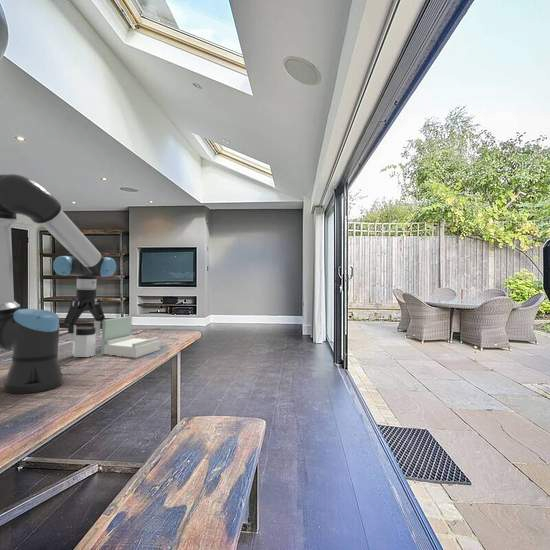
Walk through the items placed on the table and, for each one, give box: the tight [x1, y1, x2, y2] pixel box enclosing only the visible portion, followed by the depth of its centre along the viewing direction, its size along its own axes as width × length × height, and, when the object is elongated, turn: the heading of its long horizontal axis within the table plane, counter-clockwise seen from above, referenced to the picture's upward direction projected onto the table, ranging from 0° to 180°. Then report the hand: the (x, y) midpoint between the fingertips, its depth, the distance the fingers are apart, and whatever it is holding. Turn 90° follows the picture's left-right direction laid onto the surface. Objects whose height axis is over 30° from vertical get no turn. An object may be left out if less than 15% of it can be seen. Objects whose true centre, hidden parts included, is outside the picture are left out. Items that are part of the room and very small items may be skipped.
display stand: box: [100, 315, 161, 359], centre depth 159 cm, size 18×18×15 cm
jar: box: [72, 326, 97, 358], centre depth 149 cm, size 9×8×12 cm
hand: (85, 338), depth 149 cm, fingers open, 13 cm apart
